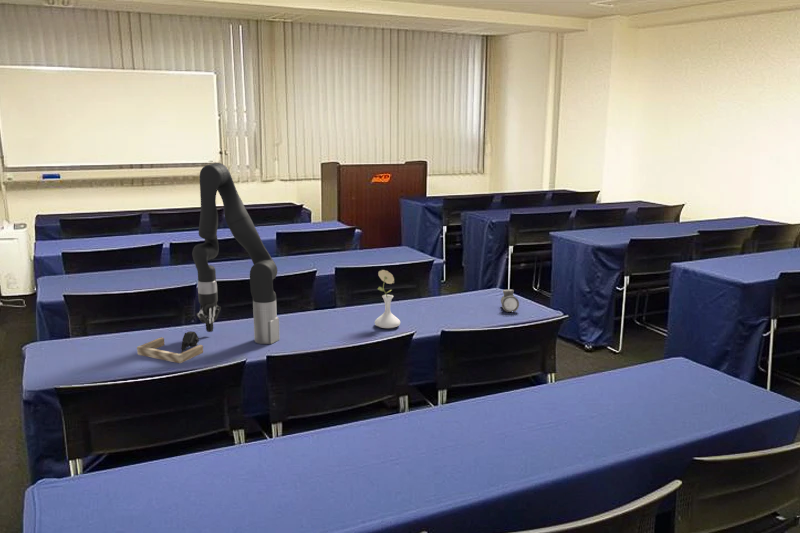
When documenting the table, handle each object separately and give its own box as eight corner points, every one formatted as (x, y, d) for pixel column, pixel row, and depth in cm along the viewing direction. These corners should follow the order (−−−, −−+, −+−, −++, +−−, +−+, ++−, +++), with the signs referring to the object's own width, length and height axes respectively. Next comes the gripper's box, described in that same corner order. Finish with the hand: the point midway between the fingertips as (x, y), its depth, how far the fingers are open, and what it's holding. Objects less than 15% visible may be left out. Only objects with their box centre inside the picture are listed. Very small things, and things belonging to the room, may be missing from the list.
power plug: (172, 353, 244) (183, 327, 252) (179, 364, 250) (188, 339, 258) (187, 354, 244) (197, 328, 252) (193, 365, 250) (202, 339, 258)
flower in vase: (405, 327, 281) (406, 272, 275) (383, 332, 274) (383, 275, 269) (389, 319, 291) (389, 266, 286) (367, 324, 285) (367, 269, 279)
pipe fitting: (519, 312, 303) (518, 291, 302) (502, 313, 304) (501, 292, 302) (515, 308, 315) (514, 287, 314) (499, 309, 316) (498, 288, 314)
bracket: (203, 352, 248) (202, 345, 247) (180, 363, 237) (179, 355, 236) (161, 344, 256) (161, 337, 256) (137, 354, 245) (136, 347, 244)
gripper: (203, 296, 255) (206, 337, 259) (225, 288, 267) (227, 328, 271) (189, 293, 258) (191, 334, 262) (211, 286, 270) (213, 325, 274)
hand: (209, 331), depth 266 cm, fingers closed
